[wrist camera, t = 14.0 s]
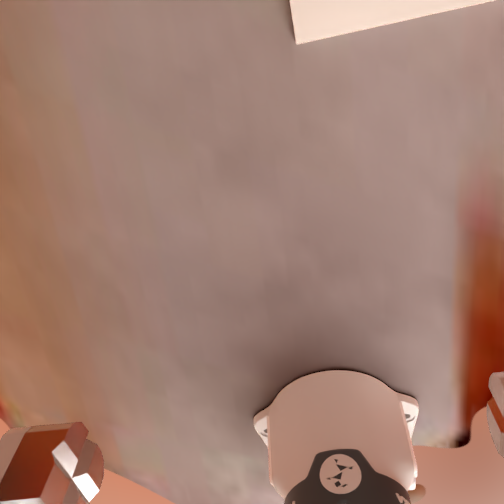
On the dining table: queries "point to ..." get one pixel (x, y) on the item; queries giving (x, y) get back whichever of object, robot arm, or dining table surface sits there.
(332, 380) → the robot arm
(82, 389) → the dining table surface
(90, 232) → the dining table surface
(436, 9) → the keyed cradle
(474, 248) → the dining table surface
